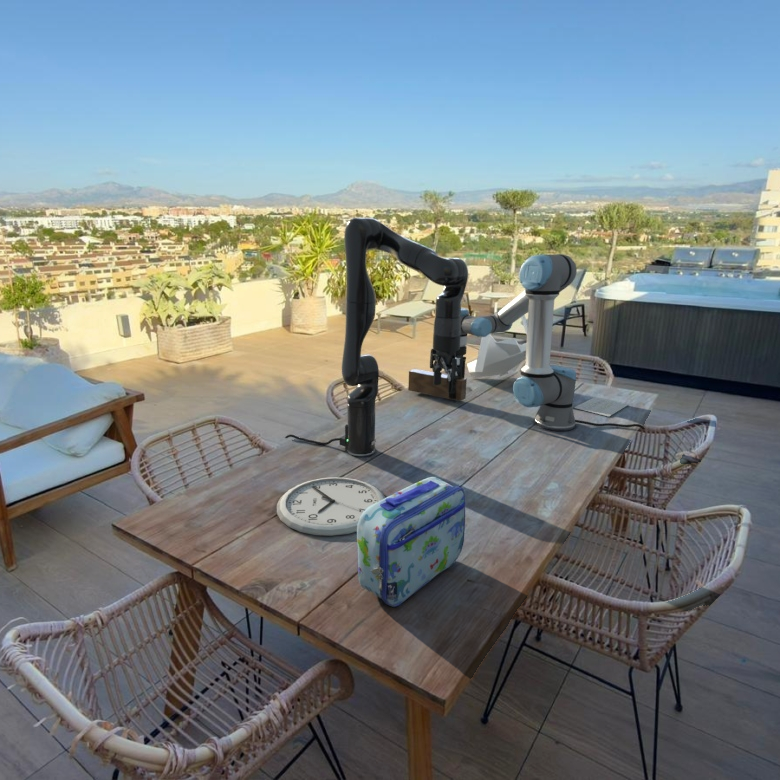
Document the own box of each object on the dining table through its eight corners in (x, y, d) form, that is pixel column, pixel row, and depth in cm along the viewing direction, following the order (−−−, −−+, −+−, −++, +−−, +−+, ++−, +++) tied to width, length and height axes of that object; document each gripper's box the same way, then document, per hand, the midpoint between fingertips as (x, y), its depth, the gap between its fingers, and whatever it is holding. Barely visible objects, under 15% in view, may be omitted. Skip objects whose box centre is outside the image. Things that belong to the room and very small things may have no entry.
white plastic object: (488, 419, 265) (468, 396, 240) (469, 347, 287) (449, 319, 262) (559, 395, 253) (546, 369, 228) (534, 321, 275) (519, 290, 250)
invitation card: (608, 416, 214) (573, 407, 224) (608, 416, 214) (573, 408, 224) (628, 404, 229) (594, 396, 238) (628, 405, 229) (594, 397, 238)
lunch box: (386, 620, 101) (388, 525, 95) (350, 593, 108) (349, 503, 102) (468, 563, 119) (474, 480, 112) (432, 543, 126) (436, 464, 120)
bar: (465, 398, 230) (466, 378, 227) (460, 401, 226) (461, 381, 224) (413, 387, 244) (414, 368, 241) (408, 390, 240) (408, 371, 237)
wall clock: (392, 527, 129) (268, 531, 127) (391, 533, 130) (269, 537, 127) (383, 473, 158) (282, 475, 155) (383, 478, 158) (282, 480, 156)
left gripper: (423, 328, 149) (421, 383, 154) (447, 338, 137) (444, 397, 141) (446, 327, 152) (443, 380, 157) (472, 336, 139) (468, 394, 144)
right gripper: (459, 340, 232) (456, 390, 239) (440, 347, 218) (437, 400, 225) (474, 342, 228) (471, 393, 235) (456, 349, 214) (453, 403, 221)
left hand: (444, 388), depth 149 cm, fingers open, 8 cm apart
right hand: (454, 396), depth 230 cm, fingers closed on bar, 5 cm apart
